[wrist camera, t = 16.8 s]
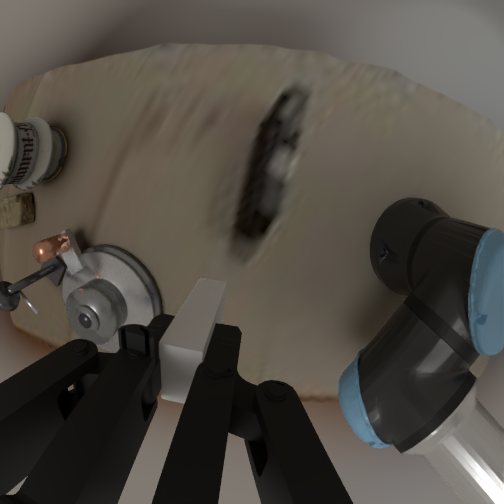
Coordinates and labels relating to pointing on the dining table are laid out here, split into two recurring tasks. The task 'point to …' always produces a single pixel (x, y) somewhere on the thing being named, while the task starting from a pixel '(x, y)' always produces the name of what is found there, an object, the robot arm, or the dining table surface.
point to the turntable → (103, 268)
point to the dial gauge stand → (9, 294)
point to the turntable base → (138, 266)
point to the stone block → (16, 211)
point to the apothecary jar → (29, 152)
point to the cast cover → (96, 310)
